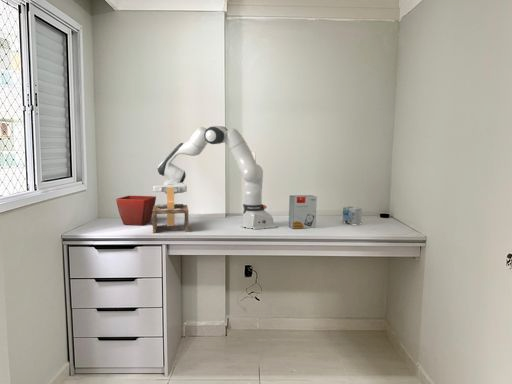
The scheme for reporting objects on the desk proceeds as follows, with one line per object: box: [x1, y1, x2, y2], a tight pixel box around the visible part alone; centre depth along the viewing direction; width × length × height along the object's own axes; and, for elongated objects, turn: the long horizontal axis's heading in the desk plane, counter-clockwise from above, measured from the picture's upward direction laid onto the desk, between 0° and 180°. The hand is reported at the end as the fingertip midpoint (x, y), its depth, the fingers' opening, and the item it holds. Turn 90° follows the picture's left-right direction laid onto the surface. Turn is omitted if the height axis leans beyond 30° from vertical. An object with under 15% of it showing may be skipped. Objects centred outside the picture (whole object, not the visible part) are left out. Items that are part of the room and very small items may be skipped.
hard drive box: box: [288, 194, 318, 230], centre depth 232 cm, size 16×8×20 cm, turn 105°
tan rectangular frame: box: [152, 203, 190, 234], centre depth 223 cm, size 20×20×15 cm
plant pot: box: [115, 195, 157, 226], centre depth 239 cm, size 19×19×17 cm
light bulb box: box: [341, 205, 363, 225], centre depth 246 cm, size 11×7×11 cm, turn 37°
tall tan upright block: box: [166, 187, 175, 227], centre depth 222 cm, size 4×12×22 cm, turn 13°
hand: (170, 189), depth 224 cm, fingers open, 8 cm apart
